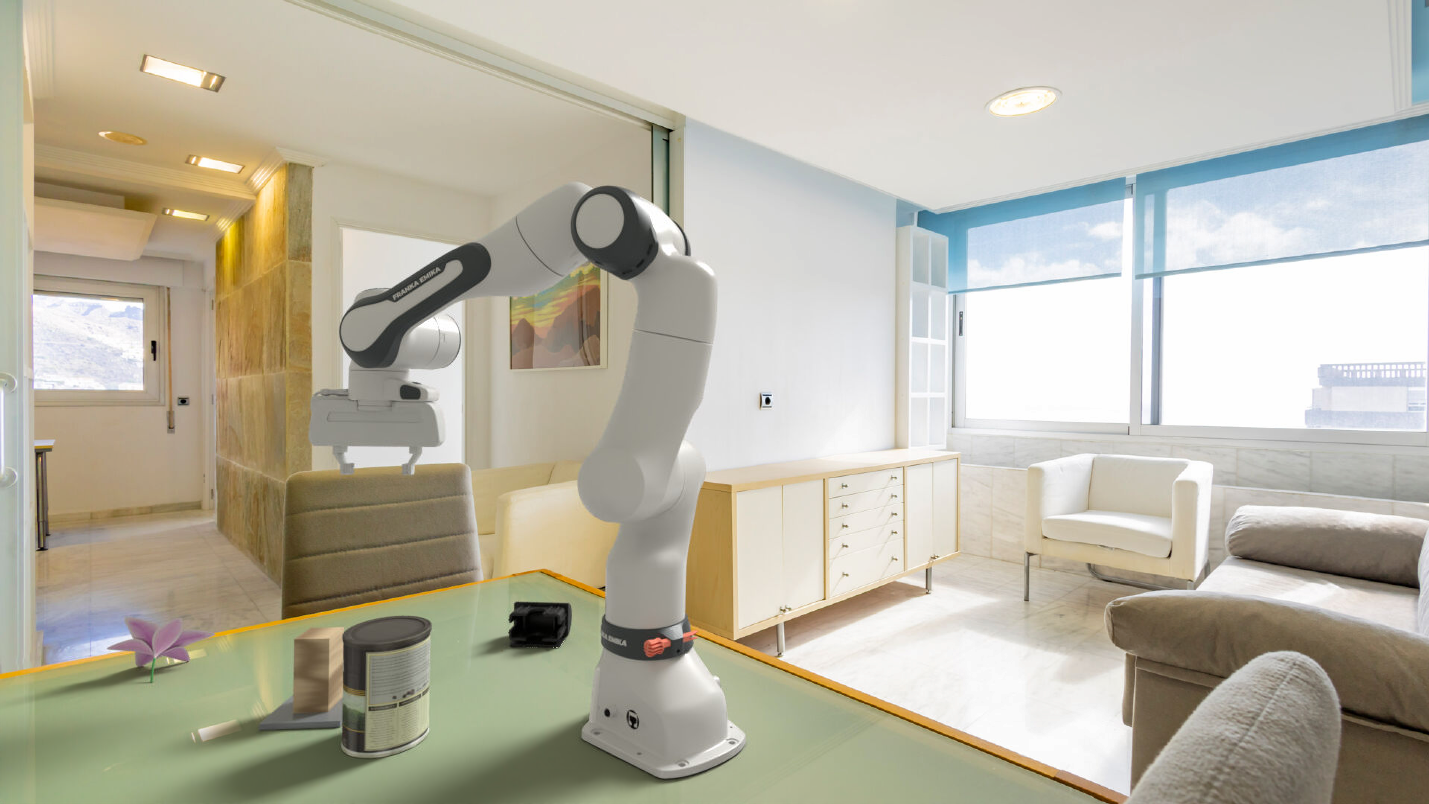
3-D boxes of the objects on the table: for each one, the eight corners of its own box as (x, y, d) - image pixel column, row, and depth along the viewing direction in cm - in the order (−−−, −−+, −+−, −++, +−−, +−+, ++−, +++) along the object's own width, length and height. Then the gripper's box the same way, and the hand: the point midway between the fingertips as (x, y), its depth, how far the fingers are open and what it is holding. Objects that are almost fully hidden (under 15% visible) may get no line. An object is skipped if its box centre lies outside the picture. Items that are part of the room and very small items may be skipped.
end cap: (571, 634, 123) (572, 598, 123) (562, 649, 116) (562, 610, 116) (518, 633, 123) (519, 597, 123) (505, 647, 116) (506, 609, 116)
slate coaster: (370, 693, 97) (370, 688, 97) (340, 727, 87) (340, 721, 87) (298, 695, 96) (298, 690, 96) (258, 730, 86) (259, 723, 86)
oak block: (342, 697, 94) (344, 627, 94) (328, 711, 89) (329, 638, 89) (309, 698, 93) (310, 627, 93) (292, 713, 89) (294, 639, 89)
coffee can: (322, 758, 80) (324, 641, 79) (369, 717, 90) (371, 614, 90) (405, 761, 79) (407, 644, 79) (443, 719, 89) (445, 616, 89)
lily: (224, 671, 106) (225, 612, 110) (162, 670, 95) (165, 604, 99) (151, 694, 106) (154, 634, 109) (80, 696, 95) (86, 629, 99)
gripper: (301, 388, 103) (299, 476, 103) (437, 390, 105) (436, 477, 105) (320, 388, 109) (319, 472, 109) (449, 391, 111) (447, 472, 111)
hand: (377, 474), depth 107 cm, fingers open, 8 cm apart
